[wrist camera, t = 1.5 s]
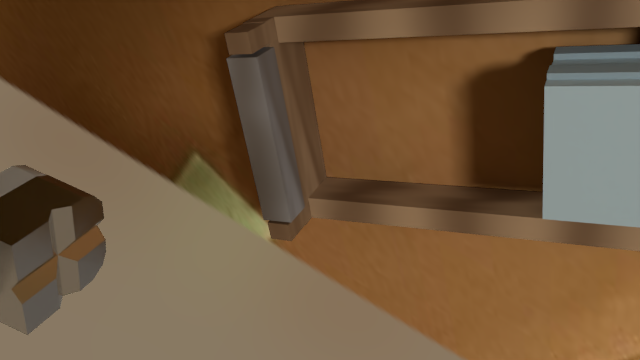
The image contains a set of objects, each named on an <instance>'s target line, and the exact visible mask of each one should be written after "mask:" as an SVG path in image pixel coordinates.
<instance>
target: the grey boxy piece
mask: <svg viewBox="0 0 640 360" xmlns="http://www.w3.org/2000/svg"><path fill="white" fill-rule="evenodd" d="M542 219H548V220H560V221H571V222H583V223H594V224H605V225H617V226H628V227H640V44H631V45H600V46H570V47H556V49H555V52H554V60H553V63H552V65H550V66H549V69H548V72H547V81H546V83H545V86H544V152H543V218H542Z"/></svg>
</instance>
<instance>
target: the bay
mask: <svg viewBox="0 0 640 360" xmlns="http://www.w3.org/2000/svg"><path fill="white" fill-rule="evenodd" d="M625 27H640V0H354V1H340V2H327V3H314V4H301V5H288V6H276V7H274V8H272V9H270V10H268V11H266V12H264V13H262V14H260V15H258V16H256V17H254V18H252V19H250V20H248V21H246V22H244V23H243V24H242V25H240V26H238V27H236V28H234V29H232V30H230V31H228V32H226V33H224V34H225V39H226V43H227V47H228V52H229V55H231V56H230V57H228V58H226V59H227V63H228V68H229V72H230V76H231V81H232V85H233V89H234V94H235V98H236V102H237V106H238V111H239V115H240V119H241V124H242V128H243V132H244V137H245V141H246V145H247V150H248V154H249V158H250V162H251V167H252V171H253V175H254V180H255V184H256V188H257V193H258V197H259V201H260V205H261V210H262V214H263V218H264V220H270V221H269V222H268V226H269V230H270V235H271V238H272V239H280V240H288V241H292V240H293V239H294V238H295V236H296V235H297V234H298V233H299V231H300V230H301V229H302V228H303V227H304V225H306V224H307V223H308V221H309V220H310V219H311V218H312V217H314V218H323V219H333V220H343V221H352V222H362V223H372V224H381V225H391V226H401V227H411V228H420V229H430V230H440V231H449V232H459V233H469V234H478V235H488V236H498V237H508V238H517V239H527V240H537V241H546V242H556V243H566V244H575V245H585V246H595V247H605V248H614V249H624V250H634V251H640V227H628V226H617V225H605V224H594V223H583V222H571V221H560V220H548V219H542V218H543V192H535V191H520V190H506V189H491V188H476V187H462V186H447V185H433V184H418V183H404V182H389V181H375V180H360V179H345V178H331V177H326V171H325V166H324V160H323V154H322V148H321V142H320V136H319V130H318V124H317V119H316V113H315V107H314V101H313V95H312V89H311V83H310V77H309V72H308V66H307V60H306V54H305V48H304V42H307V41H330V40H353V39H375V38H398V37H421V36H443V35H466V34H489V33H511V32H534V31H557V30H579V29H602V28H625Z"/></svg>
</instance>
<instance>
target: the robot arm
mask: <svg viewBox="0 0 640 360" xmlns="http://www.w3.org/2000/svg"><path fill="white" fill-rule="evenodd" d="M103 219H104V215H103V206H102V201H100V200H99V199H97V198H96V197H95V196H92V195H90V194H88V193H86V192H84V191H82V190H79V189H77V188H75V187H73V186H71V185H68V184H66V183H64V182H62V181H60V180H58V179H55V178H53V177H51V176H49V175H45V174H43V173H41V172H38V171H36V170H34V169H32V168H29V167H28V166H26V165H21V166H12V167H10V168H8V169H6V170H4V171H3V172H1V173H0V322H1V323H3V324H6V325H8V326H10V327H12V328H14V329H16V330H18V331H20V332H22V333H24V334H26V335H28V334H29V333H31V332H32V331H33V330H34V329H35V328H37V327H38V326H39V325H40V324H41V323H43V322H44V321H45V320H46V319H47V318H49V317H50V316H51V315H52V314H53V313H54V312H56V311H57V310H58V309H59V308H60V305H61V301H62V296H63V295H67V294H71V293H74V292H78V291H81V290H82V289H83V288H84V287H85V286H86V285H88V284H89V283H90V282H91V281H92V280H93V279H94V277H95V276H96V274H97V273H98V271H99V269H100V268H101V266H102V265H103V261H104V257H105V253H106V244H105V243H106V242H105V238H104V236H103V235H102V233H101V231H100V229H99V228H98V226H97V225H98V224H99V223H100V222H101V221H102V220H103Z"/></svg>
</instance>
